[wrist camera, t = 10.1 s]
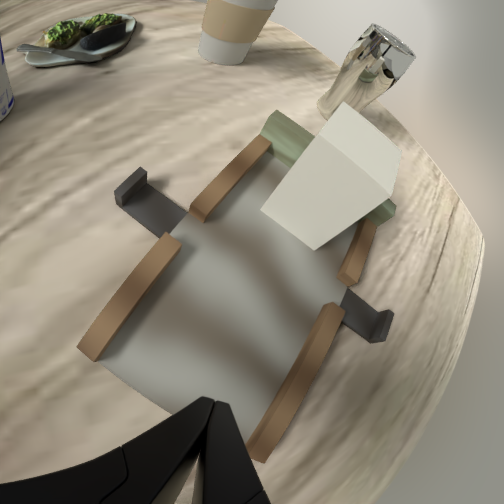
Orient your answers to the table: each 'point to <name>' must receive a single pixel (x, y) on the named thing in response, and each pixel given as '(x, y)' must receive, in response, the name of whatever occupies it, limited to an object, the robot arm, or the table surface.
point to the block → (335, 179)
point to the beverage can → (4, 89)
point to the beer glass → (367, 71)
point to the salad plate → (80, 40)
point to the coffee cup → (232, 28)
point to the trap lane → (234, 295)
